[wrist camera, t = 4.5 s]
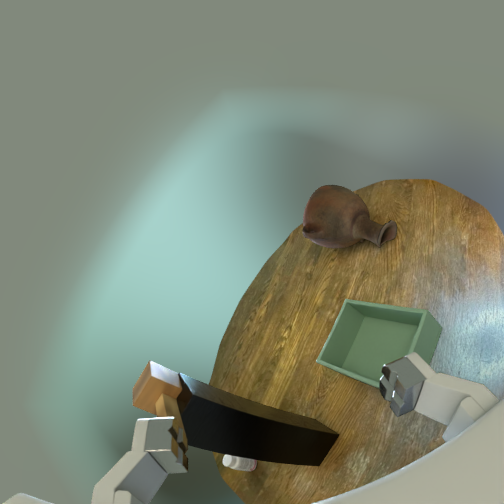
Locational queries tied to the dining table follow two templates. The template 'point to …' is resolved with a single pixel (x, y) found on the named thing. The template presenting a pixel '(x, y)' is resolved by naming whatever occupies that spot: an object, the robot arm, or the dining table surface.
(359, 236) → the jug
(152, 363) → the mallet
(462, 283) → the dining table surface
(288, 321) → the dining table surface
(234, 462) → the pill bottle
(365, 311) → the tray
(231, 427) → the stand
